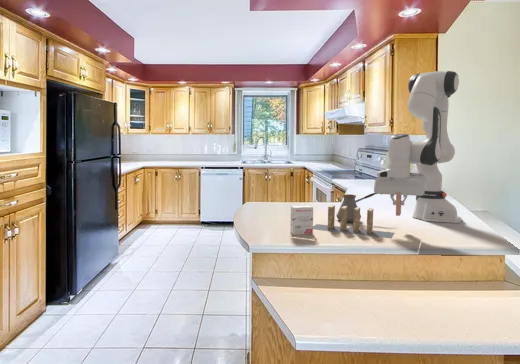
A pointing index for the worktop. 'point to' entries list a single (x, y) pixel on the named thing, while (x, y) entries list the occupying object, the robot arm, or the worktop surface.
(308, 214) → the ink box
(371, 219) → the domino
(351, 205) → the coffee pot
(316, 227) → the runner mat
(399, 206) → the domino
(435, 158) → the robot arm
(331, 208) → the domino
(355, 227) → the domino
